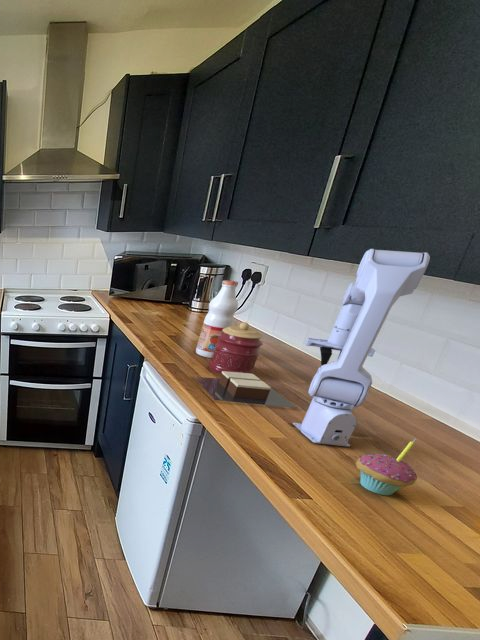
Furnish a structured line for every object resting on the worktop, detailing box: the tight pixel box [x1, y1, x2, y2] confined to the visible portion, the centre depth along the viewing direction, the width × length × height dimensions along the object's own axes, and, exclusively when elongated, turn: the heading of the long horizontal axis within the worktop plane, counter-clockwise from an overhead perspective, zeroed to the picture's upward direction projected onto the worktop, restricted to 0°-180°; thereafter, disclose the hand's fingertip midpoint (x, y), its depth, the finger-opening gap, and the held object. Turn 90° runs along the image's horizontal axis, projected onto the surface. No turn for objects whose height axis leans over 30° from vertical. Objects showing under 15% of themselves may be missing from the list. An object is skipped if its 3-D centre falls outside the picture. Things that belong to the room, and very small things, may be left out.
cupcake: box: [355, 438, 418, 496], centre depth 79 cm, size 9×8×12 cm
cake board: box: [193, 376, 298, 409], centre depth 122 cm, size 18×22×1 cm
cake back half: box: [219, 371, 261, 389], centre depth 124 cm, size 5×9×4 cm, turn 81°
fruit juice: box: [195, 279, 239, 359], centre depth 149 cm, size 9×9×28 cm
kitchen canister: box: [208, 321, 264, 375], centre depth 135 cm, size 13×13×18 cm
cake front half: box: [227, 379, 272, 400], centre depth 119 cm, size 5×9×4 cm, turn 81°
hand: (327, 373), depth 116 cm, fingers closed
